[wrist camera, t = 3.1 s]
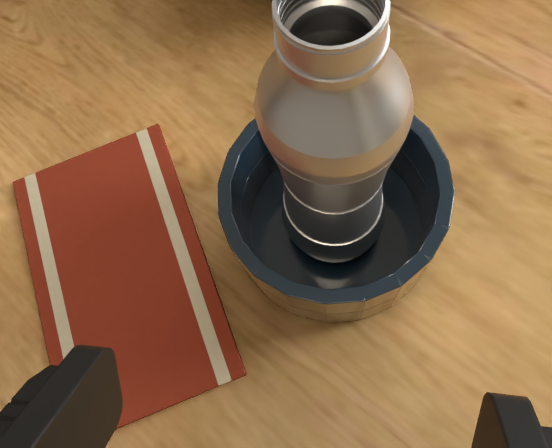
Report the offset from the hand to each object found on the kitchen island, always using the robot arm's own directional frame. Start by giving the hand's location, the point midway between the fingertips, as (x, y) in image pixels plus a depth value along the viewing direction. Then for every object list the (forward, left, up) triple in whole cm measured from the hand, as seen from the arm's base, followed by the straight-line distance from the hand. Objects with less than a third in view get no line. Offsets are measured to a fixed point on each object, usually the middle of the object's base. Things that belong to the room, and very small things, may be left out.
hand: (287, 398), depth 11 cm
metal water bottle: (-10, +5, -21) cm, 24 cm away
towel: (-13, -10, -21) cm, 26 cm away
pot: (-10, +5, -21) cm, 24 cm away
